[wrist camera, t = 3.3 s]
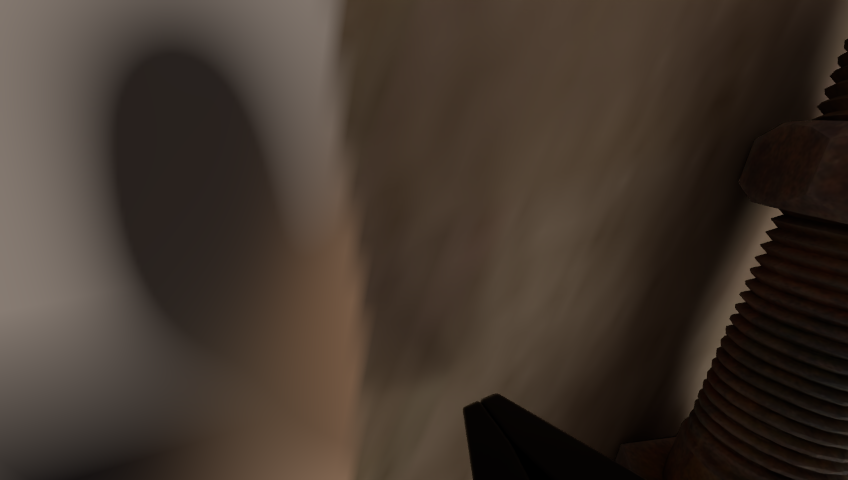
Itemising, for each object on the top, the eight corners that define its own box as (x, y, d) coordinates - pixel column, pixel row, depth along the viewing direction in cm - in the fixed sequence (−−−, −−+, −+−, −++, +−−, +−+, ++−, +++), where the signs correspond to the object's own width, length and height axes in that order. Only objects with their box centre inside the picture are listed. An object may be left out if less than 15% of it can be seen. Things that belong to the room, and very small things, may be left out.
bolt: (795, -1, 11) (628, 445, 15) (804, -97, 8) (578, 529, 11) (1188, -15, 8) (839, 568, 12) (1577, -209, 4) (869, 748, 8)
